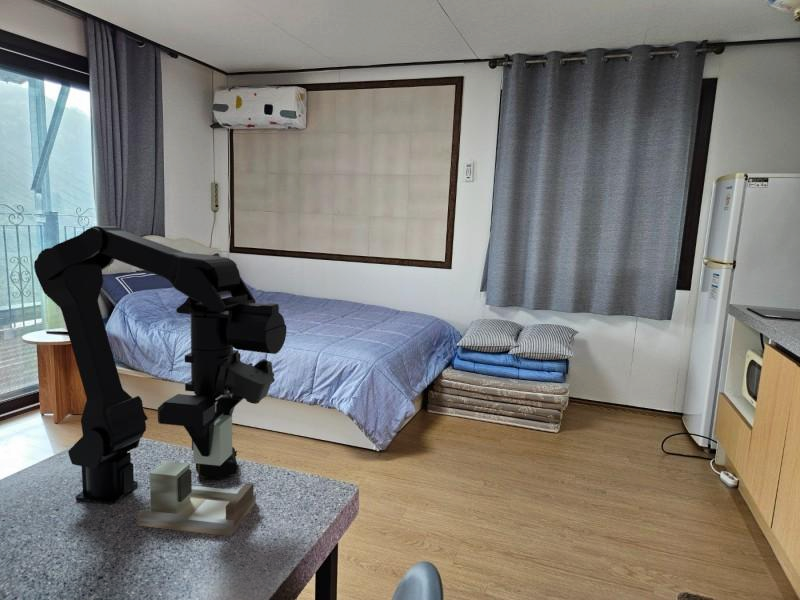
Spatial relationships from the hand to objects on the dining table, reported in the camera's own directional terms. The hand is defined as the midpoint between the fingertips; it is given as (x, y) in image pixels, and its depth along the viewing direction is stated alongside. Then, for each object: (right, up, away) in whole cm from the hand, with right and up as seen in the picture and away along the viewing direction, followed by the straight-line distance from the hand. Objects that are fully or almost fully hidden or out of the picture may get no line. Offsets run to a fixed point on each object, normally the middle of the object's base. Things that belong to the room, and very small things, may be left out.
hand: (212, 449), depth 77 cm
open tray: (-3, -10, +2) cm, 11 cm away
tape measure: (-4, -9, +15) cm, 18 cm away
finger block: (0, -1, 0) cm, 1 cm away
